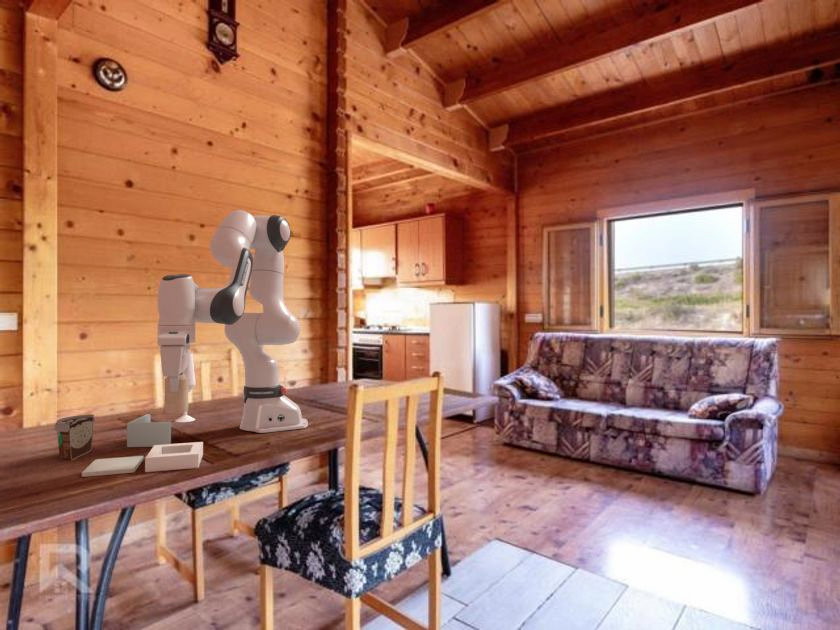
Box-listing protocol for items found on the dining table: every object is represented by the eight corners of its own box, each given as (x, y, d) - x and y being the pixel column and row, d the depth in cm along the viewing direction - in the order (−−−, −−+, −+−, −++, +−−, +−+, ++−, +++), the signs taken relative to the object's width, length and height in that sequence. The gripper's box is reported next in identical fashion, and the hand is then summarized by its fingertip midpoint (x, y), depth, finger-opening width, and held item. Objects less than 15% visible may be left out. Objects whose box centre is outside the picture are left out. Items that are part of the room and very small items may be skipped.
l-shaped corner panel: (169, 448, 144) (169, 422, 144) (126, 448, 143) (127, 423, 143) (186, 437, 156) (186, 414, 156) (147, 438, 155) (147, 414, 155)
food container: (72, 449, 140) (72, 414, 140) (94, 449, 141) (94, 414, 141) (42, 462, 128) (42, 424, 128) (67, 462, 128) (67, 424, 128)
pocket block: (202, 454, 137) (203, 441, 137) (198, 467, 125) (198, 453, 125) (154, 458, 133) (154, 445, 133) (145, 472, 121) (145, 457, 121)
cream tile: (143, 459, 132) (143, 455, 132) (134, 472, 121) (134, 468, 121) (95, 463, 128) (95, 459, 128) (81, 476, 118) (81, 472, 118)
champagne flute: (172, 422, 174) (173, 354, 174) (177, 418, 180) (177, 352, 180) (193, 421, 175) (193, 354, 175) (197, 417, 182) (197, 352, 182)
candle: (178, 414, 126) (178, 374, 126) (159, 413, 127) (159, 374, 127) (192, 409, 131) (192, 372, 131) (174, 408, 132) (174, 371, 132)
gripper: (169, 333, 138) (169, 383, 138) (156, 338, 118) (156, 396, 118) (194, 333, 140) (194, 382, 140) (185, 338, 120) (185, 395, 121)
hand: (176, 389), depth 129 cm, fingers closed on candle, 5 cm apart
